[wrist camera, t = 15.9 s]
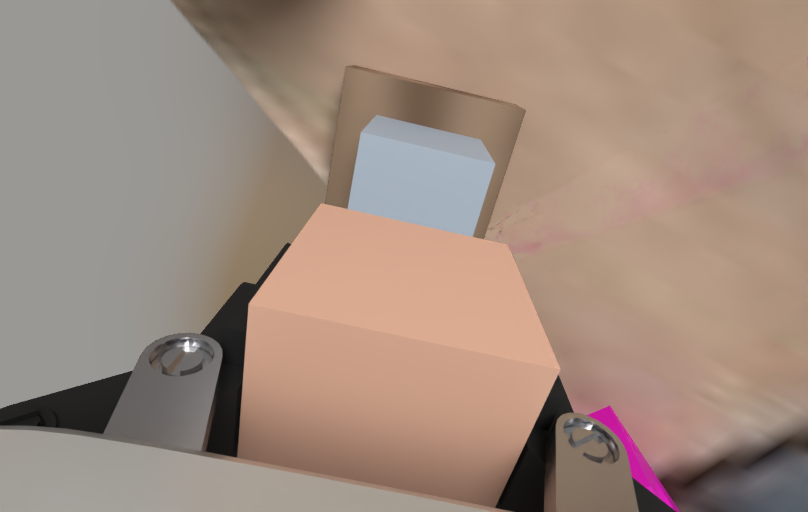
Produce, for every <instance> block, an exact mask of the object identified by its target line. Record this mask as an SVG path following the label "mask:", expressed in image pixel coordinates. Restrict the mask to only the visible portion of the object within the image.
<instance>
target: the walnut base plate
mask: <svg viewBox="0 0 808 512" xmlns="http://www.w3.org/2000/svg"><path fill="white" fill-rule="evenodd" d="M525 112H526V110H525V109H523V108H521V107H519V106H518V105H515V104H511V103H507V102H503V101H499V100H495V99H491V98H487V97H483V96H478V95H474V94H470V93H466V92H462V91H458V90H454V89H450V88H446V87H441V86H437V85H433V84H429V83H425V82H421V81H417V80H413V79H408V78H404V77H400V76H396V75H392V74H388V73H384V72H380V71H376V70H371V69H367V68H363V67H359V66H355V65H354V66H346V68H345V74H344V81H343V88H342V94H341V101H340V108H339V114H338V121H337V128H336V134H335V141H334V148H333V154H332V161H331V168H330V174H329V181H328V188H327V195H326V201H325V204H327V205H332V206H336V207H341V208H345V209H348V203H349V197H350V192H351V186H352V180H353V175H354V169H355V163H356V157H357V152H358V146H359V140H360V134H361V131H362V130H363V129H364V128H365V127H366V126H367V125H368V124H369V123H370V122H371V120H372V119H373V118H374V117H375V116H376V115H380V116H384V117H388V118H392V119H396V120H400V121H405V122H409V123H413V124H417V125H421V126H426V127H430V128H434V129H438V130H442V131H447V132H451V133H455V134H459V135H463V136H467V137H472V138H476V139H480V140H481V141H482V142H483V144H484V146H485V147H486V149H487V151H488V152H489V154H490V156H491V157H492V159H493V161H494V162H495V167H494V170H493V174H492V177H491V180H490V183H489V186H488V189H487V193H486V196H485V199H484V202H483V205H482V208H481V212H480V215H479V218H478V221H477V224H476V228H475V231H474V234H473V237H475V238H480V239H484V237H485V234H486V231H487V228H488V224H489V221H490V218H491V215H492V212H493V209H494V206H495V203H496V200H497V197H498V194H499V191H500V188H501V185H502V182H503V179H504V176H505V173H506V170H507V167H508V163H509V160H510V157H511V154H512V151H513V148H514V145H515V142H516V139H517V136H518V133H519V130H520V127H521V124H522V121H523V118H524V115H525Z"/></svg>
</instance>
